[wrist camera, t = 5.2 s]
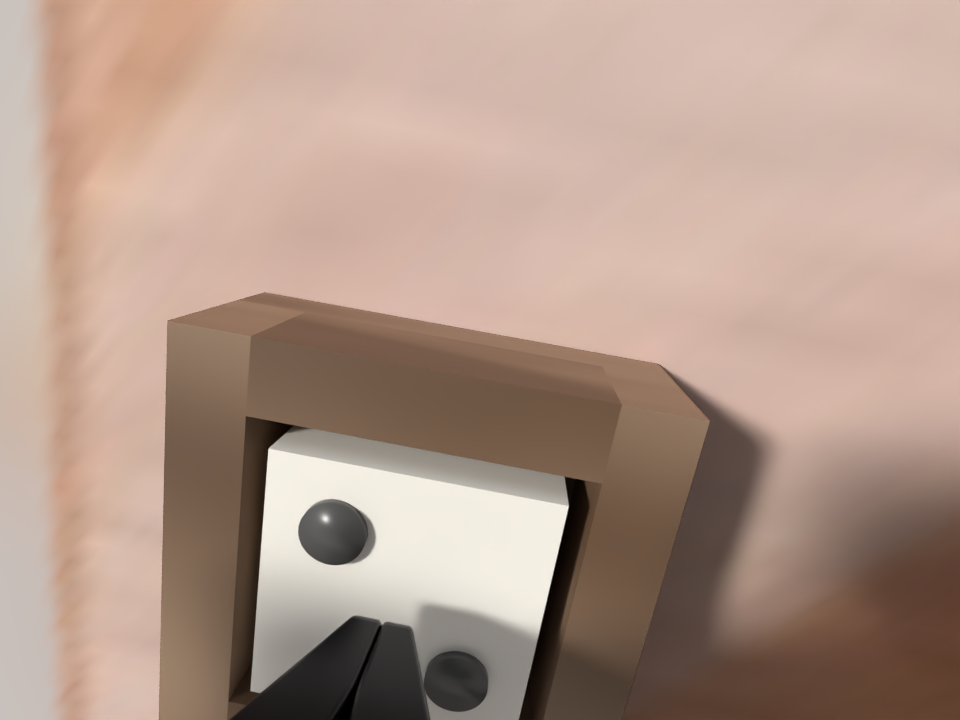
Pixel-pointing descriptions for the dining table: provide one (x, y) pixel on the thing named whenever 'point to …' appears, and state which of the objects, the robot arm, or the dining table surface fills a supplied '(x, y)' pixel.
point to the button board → (428, 426)
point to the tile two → (408, 562)
